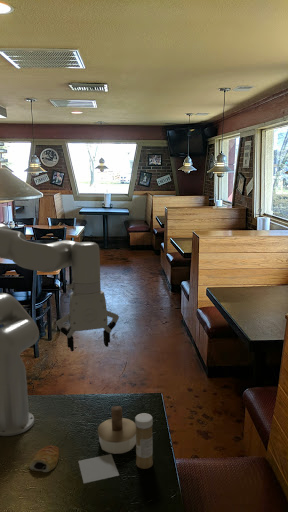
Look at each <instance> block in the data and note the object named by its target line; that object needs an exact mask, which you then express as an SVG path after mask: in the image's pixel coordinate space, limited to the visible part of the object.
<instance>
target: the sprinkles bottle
mask: <svg viewBox="0 0 288 512" xmlns="http://www.w3.org/2000/svg"><path fill="white" fill-rule="evenodd" d="M153 422H154V421H153V416H152V415H151V414H149V413H145V412H142V413H139V414H136V416H135V417H134V423H135V425H136V444H135V453H136V454H135V455H136V456H135V457H136V459H135V460H136V461H135V464H136V467H138V468H139V469H142V470H143V469H144V470H145V469H150V468H152V466H153V464H154V461H153V453H154V451H153V449H154V448H153V445H154V443H153V440H154V439H153Z"/></svg>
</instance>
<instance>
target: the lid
mask: <svg viewBox="0 0 288 512" xmlns="http://www.w3.org/2000/svg"><path fill="white" fill-rule="evenodd" d="M110 409H111V410H110V411H111V418H109V419H107V420H104V421H102V422H101V423H100V424H99V425H98V428H97V435H98V438H99V437H100V438H101V439H103V440H105V441H107V442H113V443H118V442H124V441H127V440H129V439H131V438H133V437H134V436H135V434H136V425H135V421H133V420H132V419H129V418H125V417H123V407H122V406H120V405H115V406H112V407H111V408H110Z"/></svg>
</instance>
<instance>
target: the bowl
mask: <svg viewBox="0 0 288 512" xmlns="http://www.w3.org/2000/svg"><path fill="white" fill-rule="evenodd" d="M98 438H99V439H98V441H99V444H100V447H101V451H104V452H106V453H108V454H113V455H114V454H115V455H116V454H124V453H127V452H130V451H131V450H132V449H134V448H135V447H136V434H135V436H134V437H133V438H131V439H129V440H127V441H124V442H118V443H113V442H107V441H105V440H103V439H101V438H100V437H99V436H98Z"/></svg>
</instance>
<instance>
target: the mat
mask: <svg viewBox="0 0 288 512" xmlns="http://www.w3.org/2000/svg"><path fill="white" fill-rule="evenodd" d="M77 463H78V464H79V470H80V475H81V478H82V483H83V484H88V483H92V482H97V481H101V480H106V479H109V478H115V477H118V476H119V477H120V473H119V470H118V469H117V465H116V463H115V461H114V458H113V455H112V453H108V454H105V455H99V456H95V457H91V458H86V459H81V460H78V462H77Z"/></svg>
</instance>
